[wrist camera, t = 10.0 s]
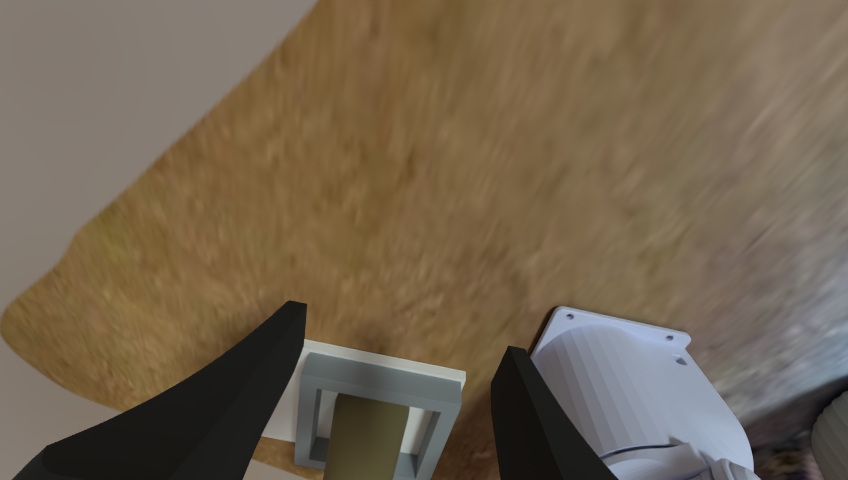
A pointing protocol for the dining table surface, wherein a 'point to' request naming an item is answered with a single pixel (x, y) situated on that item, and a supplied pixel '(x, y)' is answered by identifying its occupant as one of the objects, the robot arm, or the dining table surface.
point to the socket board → (375, 379)
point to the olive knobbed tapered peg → (364, 439)
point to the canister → (832, 439)
